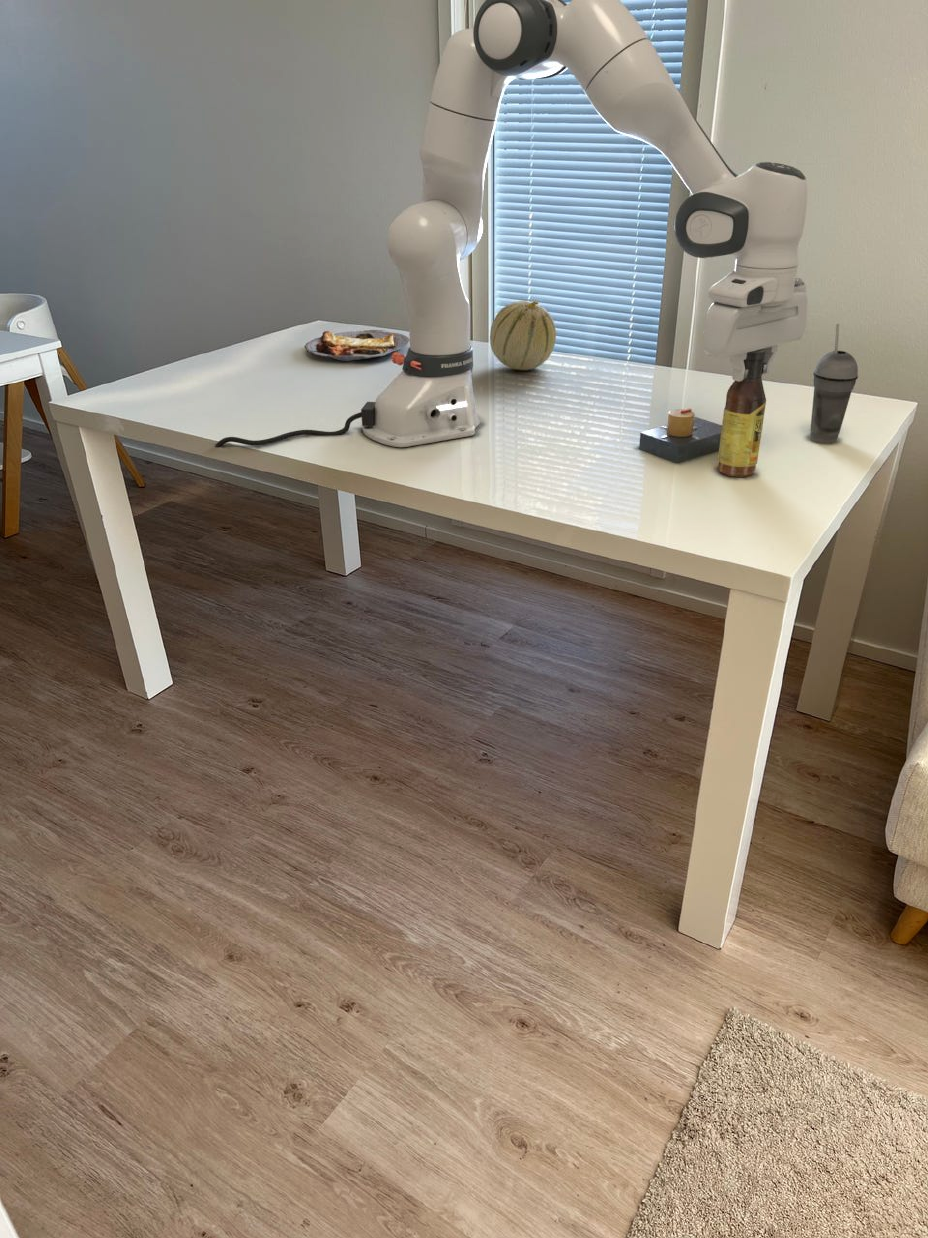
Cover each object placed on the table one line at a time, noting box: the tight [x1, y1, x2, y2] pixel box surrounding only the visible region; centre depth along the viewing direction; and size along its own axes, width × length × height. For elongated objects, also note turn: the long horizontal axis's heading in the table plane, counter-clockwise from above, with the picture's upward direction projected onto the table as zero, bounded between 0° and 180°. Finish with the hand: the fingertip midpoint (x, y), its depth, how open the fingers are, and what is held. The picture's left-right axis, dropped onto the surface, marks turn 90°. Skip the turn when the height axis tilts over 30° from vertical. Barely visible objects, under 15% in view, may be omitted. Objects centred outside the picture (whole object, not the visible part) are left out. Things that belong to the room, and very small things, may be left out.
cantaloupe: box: [489, 300, 557, 371], centre depth 203 cm, size 15×15×15 cm
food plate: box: [303, 329, 410, 362], centre depth 222 cm, size 25×23×4 cm
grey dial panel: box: [638, 416, 722, 464], centre depth 161 cm, size 14×9×3 cm, turn 126°
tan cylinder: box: [666, 408, 696, 437], centre depth 158 cm, size 4×4×4 cm
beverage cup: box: [809, 323, 859, 445], centre depth 159 cm, size 7×7×20 cm
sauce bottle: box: [717, 349, 767, 478], centre depth 147 cm, size 6×6×20 cm
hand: (750, 377), depth 144 cm, fingers closed on sauce bottle, 4 cm apart
